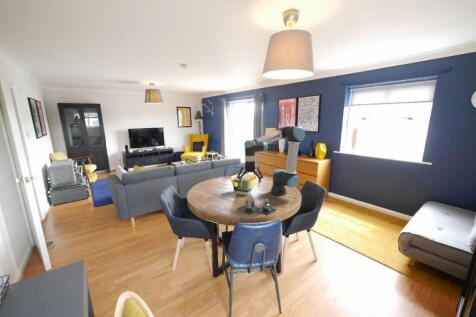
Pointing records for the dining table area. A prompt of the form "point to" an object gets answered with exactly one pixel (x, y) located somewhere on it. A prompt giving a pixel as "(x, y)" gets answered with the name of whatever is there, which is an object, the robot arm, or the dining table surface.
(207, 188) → the dining table surface
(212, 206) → the dining table surface
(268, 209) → the stand
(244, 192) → the tea box
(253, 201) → the ring
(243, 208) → the hub
